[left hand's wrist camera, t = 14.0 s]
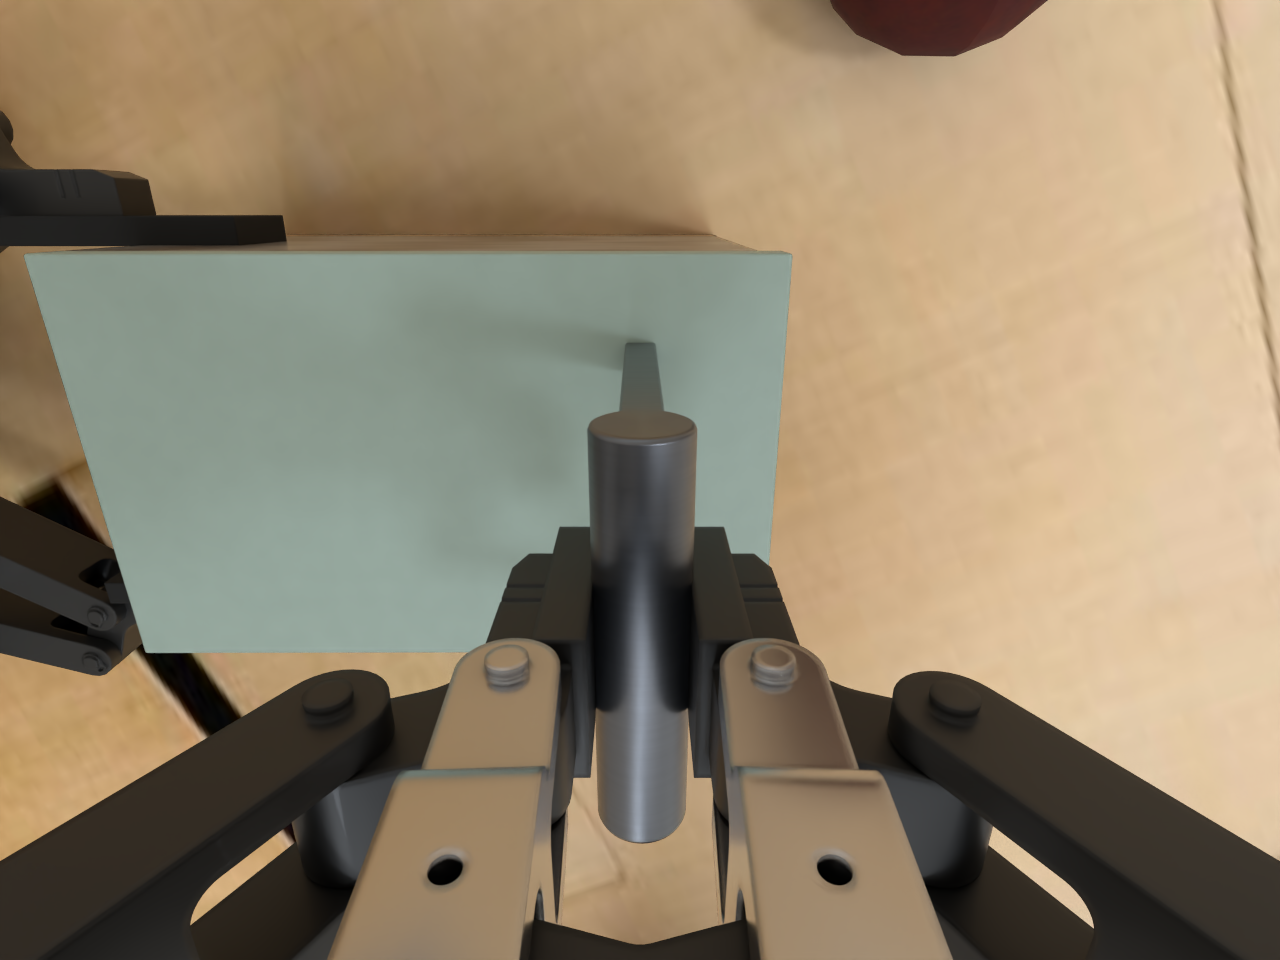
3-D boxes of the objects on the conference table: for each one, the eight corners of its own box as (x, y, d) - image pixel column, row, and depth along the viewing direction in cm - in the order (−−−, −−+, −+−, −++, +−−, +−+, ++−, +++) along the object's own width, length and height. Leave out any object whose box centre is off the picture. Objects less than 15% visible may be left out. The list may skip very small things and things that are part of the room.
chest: (713, 234, 26) (760, 250, 16) (704, 487, 30) (737, 630, 20) (285, 234, 26) (60, 250, 16) (329, 487, 30) (170, 630, 20)
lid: (783, 251, 16) (932, 292, 8) (756, 630, 20) (838, 922, 12) (59, 250, 16) (-537, 293, 8) (169, 631, 20) (-157, 925, 12)
